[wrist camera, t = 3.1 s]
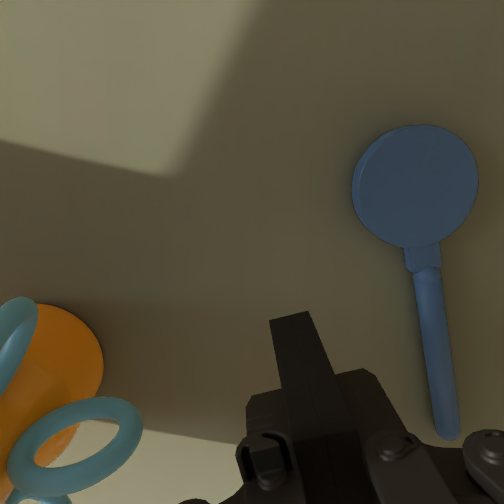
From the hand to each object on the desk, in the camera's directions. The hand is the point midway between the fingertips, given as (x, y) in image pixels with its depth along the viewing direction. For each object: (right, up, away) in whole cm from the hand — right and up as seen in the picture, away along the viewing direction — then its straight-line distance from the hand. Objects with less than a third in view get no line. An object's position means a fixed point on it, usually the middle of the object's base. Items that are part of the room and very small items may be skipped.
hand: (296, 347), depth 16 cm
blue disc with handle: (+6, +2, +4) cm, 8 cm away
